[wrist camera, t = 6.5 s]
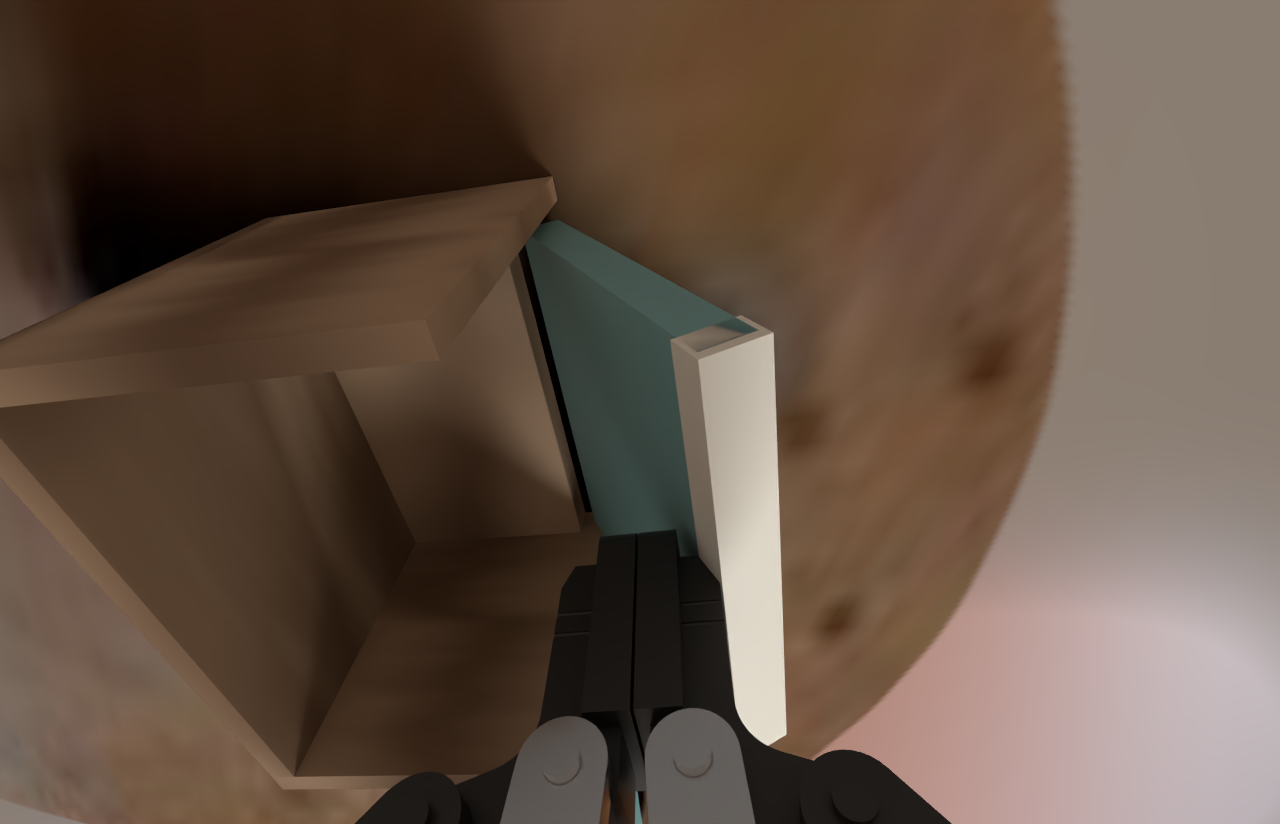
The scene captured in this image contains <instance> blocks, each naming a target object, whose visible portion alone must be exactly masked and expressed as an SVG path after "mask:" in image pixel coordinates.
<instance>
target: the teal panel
mask: <svg viewBox="0 0 1280 824" xmlns="http://www.w3.org/2000/svg"><path fill="white" fill-rule="evenodd" d="M525 245H526V249H527V253H528V257H529V261H530V265H531V269H532V273H533V277H534V281H535V285H536V289H537V293H538V297H539V301H540V305H541V309H542V313H543V317H544V321H545V325H546V329H547V333H548V337H549V341H550V345H551V349H552V353H553V357H554V361H555V365H556V369H557V373H558V377H559V381H560V385H561V389H562V393H563V397H564V401H565V405H566V409H567V413H568V417H569V421H570V425H571V429H572V433H573V437H574V441H575V445H576V449H577V453H578V457H579V461H580V465H581V469H582V473H583V477H584V481H585V485H586V489H587V493H588V497H589V501H590V505H591V509H592V513H593V517H594V520H595V522H596V524H597V525H598V527H599V528H600V530H601V531H602V533H603V535H604V536H611V535H622V534H633V533H638V535H639V533H642V532H652V531H663V530H673V529H676V532H677V537H678V544H679V550H680V557H682V556H693V555H699V557H700V559H701V560H702V561H703V562H704V564H705V565H706V566H707V567H708V569H709V570H710V571H711V572H712V574H713V575H714V576H715V577H716V579H717V580H718V581H719V582H720V587H721V595H722V603H723V611H724V619H725V628H726V636H727V644H728V652H729V661H730V669H731V677H732V685H733V693H734V701H735V706H736V710H737V712H738V715H739V717H740V719H741V721H742V722H743V724H744V725H745V727H746V728H747V729H748V731H749V732H750V733H751V734H752V735H753V736H754V737H755V738H757V739H758V740H759V741H761V742H762V743H764V744H765V745H767V746H768V745H770V744H771V743H773V742H775V741H776V740H778V739H780V738H781V737H783V736H785V735H786V706H785V675H784V644H783V613H782V583H781V552H780V521H779V490H778V459H777V428H776V398H775V367H774V336H773V332H771V331H769V330H768V329H766V328H764V327H762V326H760V325H758V324H756V323H755V322H753V321H751V320H749V319H747V318H745V317H743V316H742V315H740V316H738V317H734V316H732V315H730V314H729V313H727V312H725V311H723V310H721V309H720V308H718V307H716V306H714V305H712V304H710V303H709V302H707V301H705V300H703V299H701V298H700V297H698V296H696V295H694V294H692V293H691V292H689V291H687V290H685V289H683V288H681V287H680V286H678V285H676V284H674V283H672V282H671V281H669V280H667V279H665V278H663V277H661V276H660V275H658V274H656V273H654V272H652V271H651V270H649V269H647V268H645V267H643V266H641V265H640V264H638V263H636V262H634V261H632V260H631V259H629V258H627V257H625V256H623V255H621V254H620V253H618V252H616V251H614V250H612V249H611V248H609V247H607V246H605V245H603V244H601V243H600V242H598V241H596V240H594V239H592V238H591V237H589V236H587V235H585V234H583V233H581V232H580V231H578V230H576V229H574V228H572V227H571V226H569V225H567V224H565V223H563V222H561V221H560V220H555V221H551V222H547V223H543V224H540V225H539V226H538V227H537V229H536V230H535V231H534V233H533V234H532V235H531V237H530V238H529V240H528V241H527V242H526V244H525Z"/></svg>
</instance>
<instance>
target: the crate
mask: <svg viewBox="0 0 1280 824" xmlns="http://www.w3.org/2000/svg"><path fill="white" fill-rule="evenodd" d="M556 201H557V196H556V191H555V187H554V182H553V177H552V176H551V177H544V178H537V179H530V180H523V181H516V182H510V183H503V184H496V185H489V186H482V187H475V188H469V189H462V190H455V191H448V192H441V193H434V194H428V195H421V196H414V197H407V198H400V199H393V200H387V201H380V202H373V203H366V204H359V205H352V206H346V207H339V208H332V209H325V210H318V211H311V212H305V213H298V214H291V215H284V216H277V217H270V218H266V219H263V220H261V221H259V222H257V223H255V224H253V225H250V226H248V227H246V228H244V229H242V230H239V231H237V232H235V233H233V234H231V235H228V236H226V237H224V238H222V239H220V240H218V241H215V242H213V243H211V244H209V245H207V246H204V247H202V248H200V249H198V250H196V251H194V252H191V253H189V254H187V255H185V256H183V257H180V258H178V259H176V260H174V261H172V262H169V263H167V264H165V265H163V266H161V267H159V268H156V269H154V270H152V271H150V272H148V273H145V274H143V275H141V276H139V277H137V278H134V279H132V280H130V281H128V282H126V283H124V284H121V285H119V286H117V287H115V288H113V289H110V290H108V291H106V292H104V293H102V294H99V295H97V296H95V297H93V298H91V299H89V300H86V301H84V302H82V303H80V304H78V305H75V306H73V307H71V308H69V309H67V310H64V311H62V312H60V313H58V314H56V315H54V316H51V317H49V318H47V319H45V320H43V321H40V322H38V323H36V324H34V325H32V326H29V327H27V328H25V329H23V330H21V331H19V332H16V333H14V334H12V335H10V336H8V337H5V338H3V339H1V340H0V477H1V478H2V479H3V480H4V481H5V483H6V484H7V485H8V486H9V487H10V488H11V489H12V490H13V491H14V493H15V494H16V495H17V496H18V497H19V498H20V499H21V500H22V501H23V502H24V504H25V505H26V506H27V507H28V508H29V509H30V510H31V511H32V512H33V514H34V515H35V516H36V517H37V518H38V519H39V520H40V521H41V522H42V523H43V525H44V526H45V527H46V528H47V529H48V530H49V531H50V532H51V533H52V534H53V536H54V537H55V538H56V539H57V540H58V541H59V542H60V543H61V544H62V546H63V547H64V548H65V549H66V550H67V551H68V552H69V553H70V554H71V555H72V557H73V558H74V559H75V560H76V561H77V562H78V563H79V564H80V565H81V567H82V568H83V569H84V570H85V571H86V572H87V573H88V574H89V575H90V576H91V578H92V579H93V580H94V581H95V582H96V583H97V584H98V585H99V586H100V587H101V589H102V590H103V591H104V592H105V593H106V594H107V595H108V596H109V597H110V599H111V600H112V601H113V602H114V603H115V604H116V605H117V606H118V607H119V608H120V610H121V611H122V612H123V613H124V614H125V615H126V616H127V617H128V618H129V620H130V621H131V622H132V623H133V624H134V625H135V626H136V627H137V628H138V629H139V631H140V632H141V633H142V634H143V635H144V636H145V637H146V638H147V639H148V640H149V642H150V643H151V644H152V645H153V646H154V647H155V648H156V649H157V650H158V652H159V653H160V654H161V655H162V656H163V657H164V658H165V659H166V660H167V661H168V663H169V664H170V665H171V666H172V667H173V668H174V669H175V670H176V671H177V673H178V674H179V675H180V676H181V677H182V678H183V679H184V680H185V681H186V682H187V684H188V685H189V686H190V687H191V688H192V689H193V690H194V691H195V692H196V693H197V695H198V696H199V697H200V698H201V699H202V700H203V701H204V702H205V703H206V705H207V706H208V707H209V708H210V709H211V710H212V711H213V712H214V713H215V714H216V716H217V717H218V718H219V719H220V720H221V721H222V722H223V723H224V724H225V725H226V727H227V728H228V729H229V730H230V731H231V732H232V733H233V734H234V735H235V737H236V738H237V739H238V740H239V741H240V742H241V743H242V744H243V745H244V746H245V748H246V749H247V750H248V751H249V752H250V753H251V754H252V755H253V756H254V758H255V759H256V760H257V761H258V762H259V763H260V764H261V765H262V766H263V767H264V769H265V770H266V771H267V772H268V773H269V774H270V775H271V776H272V777H273V778H274V780H275V781H276V782H277V783H278V784H279V785H280V786H281V787H282V788H283V789H375V788H392V787H393V786H394V785H396V784H397V783H398V782H400V781H401V780H403V779H405V778H407V777H409V776H411V775H414V774H417V773H422V772H437V773H441V774H443V775H445V776H447V777H448V778H450V779H451V780H452V781H453V782H454V784H455V785H457V784H459V783H461V782H464V781H466V780H469V779H471V778H473V777H476V776H478V775H481V774H483V773H486V772H488V771H490V770H493V769H495V768H497V767H499V766H501V765H503V764H505V763H506V762H508V761H509V760H511V759H512V758H513V757H515V756H516V755H517V754H518V753H519V752H520V750H521V748H522V746H523V744H524V743H525V741H526V740H527V738H528V737H529V736H530V735H531V734H532V733H533V732H534V731H535V730H536V728H537V725H538V723H539V720H540V715H541V710H542V704H543V698H544V692H545V686H546V680H547V674H548V668H549V662H550V655H551V649H552V643H553V638H554V637H555V635H554V631H555V625H556V619H557V618H558V607H559V601H560V594H561V588H562V587H563V585H564V584H565V582H566V580H567V579H568V577H569V576H570V574H571V573H572V571H573V569H574V568H575V566H584V565H595V564H597V554H598V545H599V539H600V537H601V536H604V535H603V533H602V531H601V530H600V528H599V527H598V525H597V524H596V522H595V520H594V517H593V513H592V512H586V513H585V509H584V505H583V502H582V498H581V494H580V490H579V486H578V482H577V478H576V475H575V471H574V467H573V463H572V459H571V455H570V451H569V448H568V444H567V440H566V436H565V432H564V428H563V424H562V421H561V417H560V413H559V409H558V405H557V401H556V397H555V394H554V390H553V386H552V382H551V378H550V374H549V370H548V367H547V363H546V359H545V355H544V351H543V347H542V343H541V340H540V336H539V332H538V328H537V324H536V320H535V316H534V312H533V309H532V305H531V301H530V297H529V293H528V289H527V285H526V282H525V278H524V274H523V270H522V266H521V262H520V258H519V255H518V253H519V252H520V250H521V249H522V248H523V246H524V245H525V244H526V242H527V241H528V240H529V238H530V237H531V235H532V234H533V233H534V231H535V230H536V229H537V227H538V226H539V225H540V223H541V222H542V220H543V219H544V218H545V216H546V215H547V214H548V212H549V211H550V210H551V208H552V207H553V205H554V204H555V203H556Z"/></svg>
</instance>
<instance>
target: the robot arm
mask: <svg viewBox="0 0 1280 824" xmlns="http://www.w3.org/2000/svg"><path fill="white" fill-rule="evenodd" d="M554 635H555V637H554V638H553V643H552V649H551V655H550V662H549V668H548V674H547V680H546V686H545V692H544V698H543V704H542V710H541V715H540V720H539V723H538V725H537V728H536V730H535V731H534V732H533V733H532V734H531V735H530V736H529V737H528V738H527V740H526V741H525V743H524V744H523V746H522V748H521V750H520V752H519V753H518V754H517V755H516V756H515V757H513V758H512V759H511V760H509V761H508V762H506V763H505V764H503V765H501V766H499V767H497V768H495V769H493V770H490V771H488V772H486V773H483V774H481V775H478V776H476V777H473V778H471V779H469V780H466V781H464V782H461V783H459V784H457V785H455V784H454V782H453V781H452V780H451V779H450V778H448V777H447V776H445V775H443V774H441V773H437V772H422V773H417V774H414V775H411V776H409V777H407V778H405V779H403V780H401V781H400V782H398V783H397V784H396V785H394V786H393V787H392V788H391V789H390V790H388V791H387V792H386V793H385V794H384V795H383V796H382V797H381V798H380V799H379V800H378V801H377V802H376V803H375V804H374V805H373V806H372V807H371V808H370V809H369V810H368V811H367V812H366V813H365V814H364V815H363V816H362V817H361V818H360V819H359V820H358V821H357V822H356V823H355V824H635V801H636V791H647V803H648V819H649V824H951V823H950V822H949V821H948V820H947V819H946V818H944V817H943V816H942V815H941V814H940V813H939V812H938V811H936V810H935V809H934V808H933V807H932V806H931V805H930V804H929V803H927V802H926V801H925V800H924V799H923V798H922V797H921V796H919V795H918V794H917V793H916V792H915V791H913V789H911V788H910V787H909V786H908V785H907V784H906V783H905V782H903V781H902V780H901V779H900V778H899V777H898V776H896V775H895V774H894V773H893V772H892V771H891V770H890V769H889V768H887V767H886V766H885V765H883V764H882V763H881V762H880V761H878V760H876V759H875V758H873V757H871V756H869V755H866V754H864V753H861V752H857V751H852V750H836V751H831V752H828V753H825V754H823V755H821V756H819V757H818V758H816V759H815V760H814V761H813V760H809V759H806V758H802V757H799V756H795V755H792V754H788V753H785V752H781V751H779V750H776V749H773V748H771V747H769V746H767V745H765V744H764V743H762V742H761V741H759V740H758V739H757V738H755V737H754V736H753V735H752V734H751V733H750V732H749V731H748V729H747V728H746V727H745V725H744V724H743V722H742V721H741V719H740V717H739V715H738V712H737V710H736V706H735V701H734V693H733V685H732V677H731V669H730V661H729V652H728V644H727V636H726V628H725V619H724V611H723V603H722V595H721V587H720V582H719V581H718V580H717V579H716V577H715V576H714V575H713V574H712V572H711V571H710V570H709V569H708V567H707V566H706V565H705V564H704V562H703V561H702V560H701V559H700V557H699V555H693V556H682V557H680V550H679V544H678V537H677V532H676V529H673V530H663V531H652V532H642V533H639V535H638V533H633V534H622V535H611V536H601V537H600V539H599V545H598V554H597V564H595V565H584V566H575V568H574V569H573V571H572V573H571V574H570V576H569V577H568V579H567V580H566V582H565V584H564V585H563V587H562V588H561V594H560V601H559V607H558V618H557V619H556V625H555V631H554Z"/></svg>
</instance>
